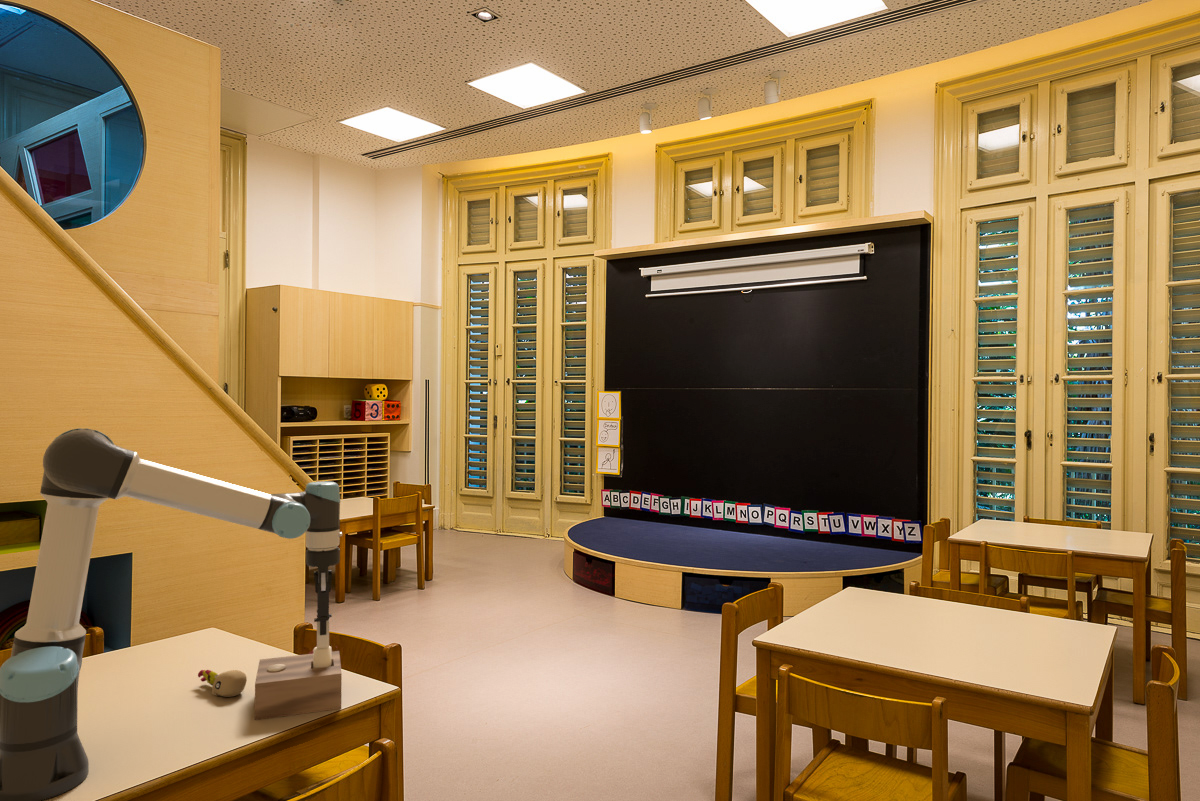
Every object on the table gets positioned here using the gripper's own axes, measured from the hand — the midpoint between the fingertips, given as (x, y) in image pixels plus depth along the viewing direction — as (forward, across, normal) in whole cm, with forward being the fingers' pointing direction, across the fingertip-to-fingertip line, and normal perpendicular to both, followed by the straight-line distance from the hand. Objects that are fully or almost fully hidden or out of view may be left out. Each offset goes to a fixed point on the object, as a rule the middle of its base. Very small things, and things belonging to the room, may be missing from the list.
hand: (322, 647), depth 177 cm
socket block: (+12, 0, +5) cm, 13 cm away
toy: (+12, +12, +23) cm, 29 cm away
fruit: (+12, +19, 0) cm, 23 cm away
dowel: (+8, 0, 0) cm, 8 cm away
